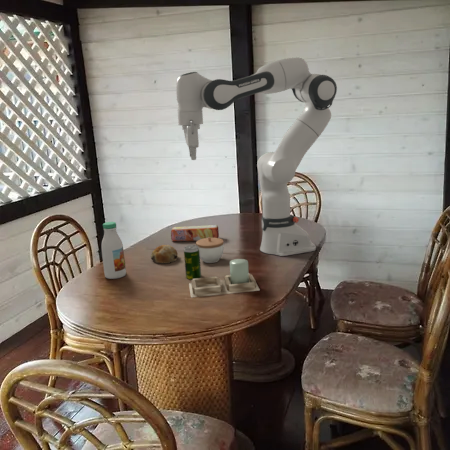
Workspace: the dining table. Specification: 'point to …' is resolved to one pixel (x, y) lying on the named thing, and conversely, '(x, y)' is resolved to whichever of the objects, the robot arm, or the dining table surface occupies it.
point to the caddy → (220, 286)
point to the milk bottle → (112, 252)
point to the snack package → (194, 233)
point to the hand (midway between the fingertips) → (193, 158)
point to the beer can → (192, 262)
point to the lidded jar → (210, 249)
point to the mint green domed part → (239, 271)
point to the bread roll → (164, 254)
